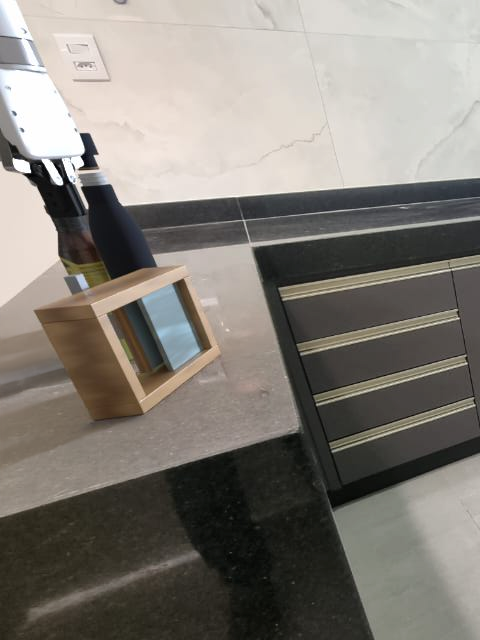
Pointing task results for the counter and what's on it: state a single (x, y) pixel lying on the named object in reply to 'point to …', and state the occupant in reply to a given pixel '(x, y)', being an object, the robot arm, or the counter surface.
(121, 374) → the window frame
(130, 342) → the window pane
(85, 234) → the sauce bottle
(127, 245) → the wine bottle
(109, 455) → the counter surface
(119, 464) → the counter surface
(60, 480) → the counter surface
